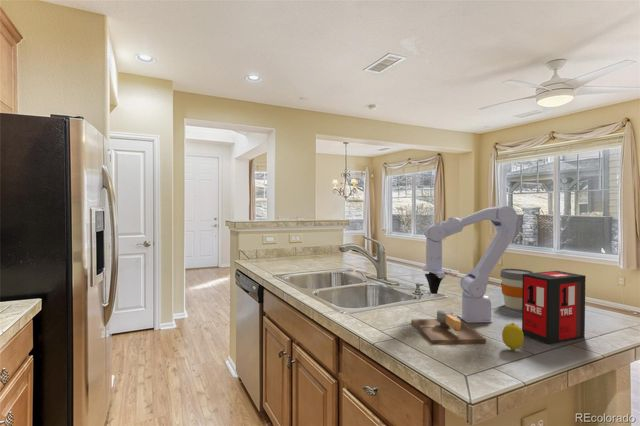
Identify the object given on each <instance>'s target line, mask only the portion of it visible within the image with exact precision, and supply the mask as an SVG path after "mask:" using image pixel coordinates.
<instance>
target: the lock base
mask: <svg viewBox="0 0 640 426" xmlns="http://www.w3.org/2000/svg"><path fill="white" fill-rule="evenodd" d="M410 322H411V324H412V325H413V327H415V328H416V329H417V331H418V332H419V333H421V334H422V336H423V337H424V338H425V339H426V340H427V341H428V342H429V343H430V344H431V345H448V344H449V345H451V344H452V345H453V344H486V343H487V338H486V337H484V336H482V335H481V334H480V333H478V332H477V331H476V330H474V329H473V328H471V327H469V326H468V325H467V324H465V323H464V322H463V321H461V331H455V330H454V329H453V328H451V327H450V326H448V325H447V324H445V323H440V322H438V321H437V318H429V319H428V318H426V319H425V318H424V319H423V318H422V319H419V318H418V319H417V318H416V319H414V318H413V319H412V318H411V319H410Z"/></svg>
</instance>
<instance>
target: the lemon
mask: <svg viewBox="0 0 640 426" xmlns="http://www.w3.org/2000/svg"><path fill="white" fill-rule="evenodd" d="M501 333H502V335H501V338H502V341H503V343H504V345H505V346H506V347H507V348H509V349H510V350H511V351H515V350H517V349H520V348H522V346H523V345H524V342H525V335H523V331H522V327H520V326H519V325H517V324H515V323H514V322H511V323H509V324H506V325H505V326H504V327H503V328H502V332H501Z"/></svg>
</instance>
